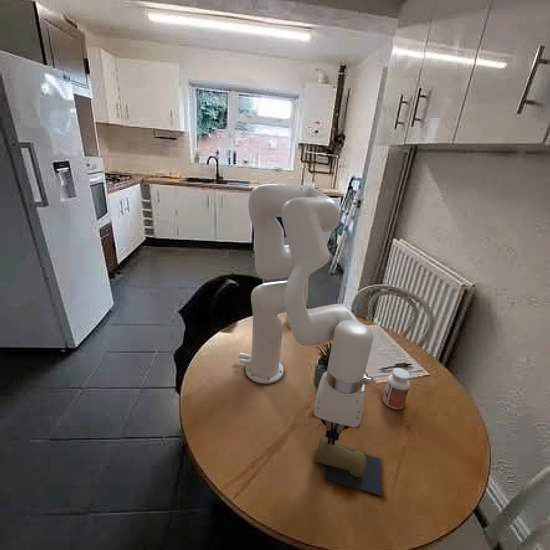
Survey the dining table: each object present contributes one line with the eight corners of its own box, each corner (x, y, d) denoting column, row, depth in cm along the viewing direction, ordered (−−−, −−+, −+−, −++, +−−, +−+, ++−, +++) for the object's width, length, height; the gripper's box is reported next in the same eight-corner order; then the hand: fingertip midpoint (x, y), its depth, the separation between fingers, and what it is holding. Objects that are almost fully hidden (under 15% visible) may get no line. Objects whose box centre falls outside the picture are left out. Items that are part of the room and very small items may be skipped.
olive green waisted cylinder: (323, 429, 75) (369, 447, 72) (320, 443, 78) (364, 461, 75) (316, 452, 70) (365, 473, 67) (313, 466, 73) (360, 487, 70)
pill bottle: (408, 405, 93) (417, 376, 89) (395, 413, 90) (404, 383, 86) (390, 392, 98) (398, 363, 94) (378, 399, 95) (385, 370, 91)
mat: (326, 479, 70) (326, 478, 70) (330, 446, 78) (330, 445, 78) (381, 496, 68) (381, 495, 68) (379, 460, 76) (379, 459, 76)
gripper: (380, 373, 67) (363, 435, 74) (311, 358, 70) (302, 418, 77) (382, 398, 60) (364, 463, 67) (306, 380, 63) (296, 444, 70)
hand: (331, 439), depth 72 cm, fingers closed
